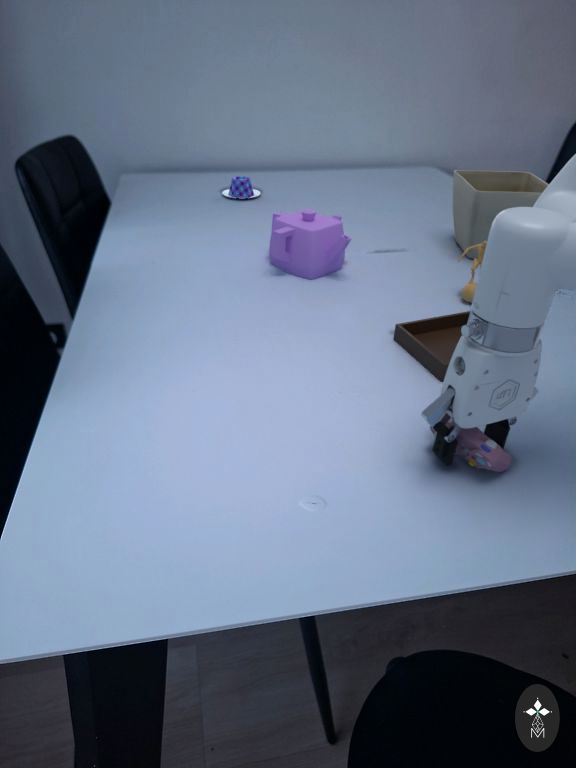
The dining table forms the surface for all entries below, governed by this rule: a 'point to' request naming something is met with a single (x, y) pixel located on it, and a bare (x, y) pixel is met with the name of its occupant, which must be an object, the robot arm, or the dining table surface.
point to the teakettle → (307, 243)
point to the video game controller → (480, 449)
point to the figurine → (470, 288)
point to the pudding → (241, 188)
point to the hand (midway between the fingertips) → (467, 450)
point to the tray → (432, 340)
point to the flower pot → (488, 201)
